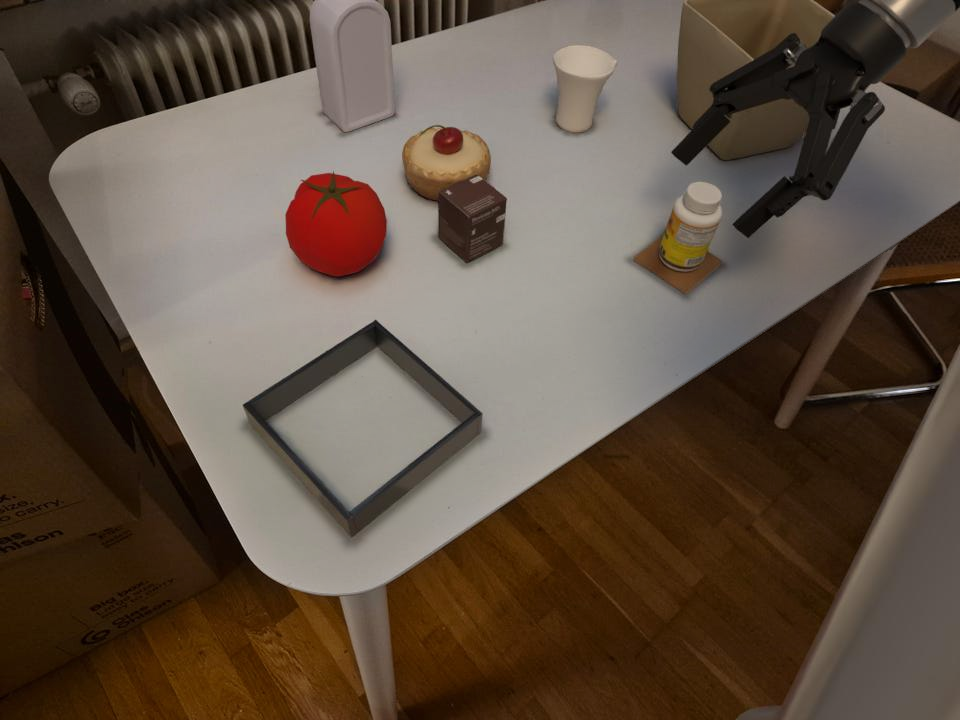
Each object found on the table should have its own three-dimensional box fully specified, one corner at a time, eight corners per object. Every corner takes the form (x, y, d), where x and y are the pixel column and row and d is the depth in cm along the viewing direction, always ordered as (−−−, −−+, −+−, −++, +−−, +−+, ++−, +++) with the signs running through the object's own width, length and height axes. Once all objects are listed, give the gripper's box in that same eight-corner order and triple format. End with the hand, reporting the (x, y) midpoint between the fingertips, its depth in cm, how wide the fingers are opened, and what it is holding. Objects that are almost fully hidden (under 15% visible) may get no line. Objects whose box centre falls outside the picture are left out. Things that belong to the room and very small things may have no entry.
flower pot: (823, 156, 100) (882, 45, 87) (717, 180, 95) (763, 66, 82) (748, 91, 111) (790, -17, 97) (649, 109, 106) (680, -2, 92)
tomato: (282, 239, 83) (264, 163, 74) (371, 218, 86) (364, 142, 77) (308, 305, 76) (292, 230, 67) (403, 279, 79) (399, 205, 71)
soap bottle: (346, 136, 97) (326, -34, 79) (322, 113, 100) (297, -55, 82) (398, 118, 100) (390, -50, 82) (374, 96, 104) (361, -69, 86)
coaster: (721, 264, 84) (723, 260, 84) (685, 294, 80) (687, 291, 80) (669, 232, 87) (671, 228, 87) (633, 260, 84) (634, 256, 83)
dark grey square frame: (480, 432, 67) (483, 413, 64) (351, 537, 59) (347, 521, 57) (378, 340, 73) (375, 319, 71) (250, 424, 66) (242, 404, 63)
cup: (607, 140, 100) (622, 76, 92) (545, 136, 99) (554, 72, 92) (601, 107, 105) (615, 45, 97) (543, 104, 105) (551, 41, 97)
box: (466, 264, 82) (468, 217, 76) (436, 237, 84) (436, 190, 79) (503, 245, 84) (508, 198, 78) (474, 219, 87) (476, 172, 81)
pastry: (502, 198, 90) (508, 141, 83) (419, 217, 87) (418, 159, 80) (469, 148, 96) (472, 91, 89) (391, 164, 93) (387, 106, 86)
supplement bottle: (666, 237, 86) (689, 170, 78) (707, 254, 84) (735, 187, 76) (650, 262, 83) (673, 196, 75) (692, 280, 81) (721, 214, 73)
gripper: (789, -47, 68) (638, 118, 78) (967, 65, 53) (752, 253, 63) (819, -4, 73) (673, 147, 83) (991, 110, 58) (787, 279, 68)
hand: (707, 193), depth 73 cm, fingers open, 13 cm apart
